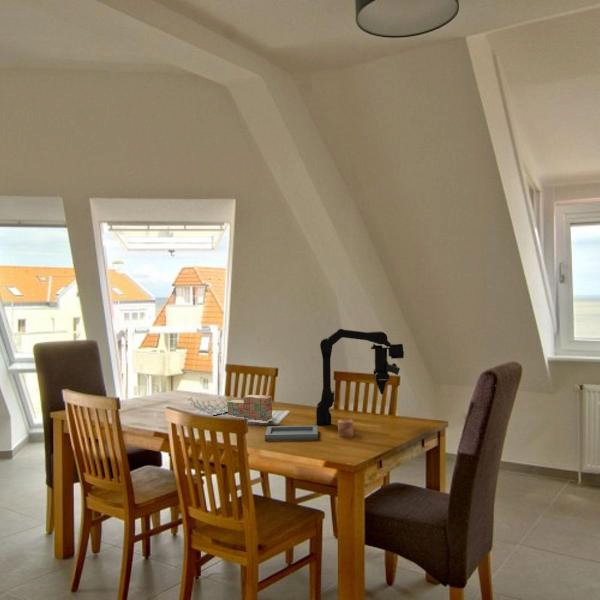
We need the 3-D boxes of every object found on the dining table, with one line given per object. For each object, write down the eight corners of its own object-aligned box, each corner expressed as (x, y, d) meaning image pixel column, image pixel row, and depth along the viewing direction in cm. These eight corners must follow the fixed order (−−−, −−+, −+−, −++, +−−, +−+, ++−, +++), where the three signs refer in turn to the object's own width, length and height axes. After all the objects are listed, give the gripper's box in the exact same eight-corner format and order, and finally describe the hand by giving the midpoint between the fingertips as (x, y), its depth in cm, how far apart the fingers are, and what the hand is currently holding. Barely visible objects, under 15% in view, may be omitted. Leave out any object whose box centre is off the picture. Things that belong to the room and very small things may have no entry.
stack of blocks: (227, 420, 289) (226, 395, 288) (234, 418, 294) (233, 393, 294) (266, 424, 280) (265, 398, 280) (272, 421, 285) (272, 395, 285)
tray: (264, 441, 247) (264, 435, 247) (267, 432, 263) (267, 426, 263) (317, 439, 247) (317, 433, 247) (317, 431, 263) (317, 425, 263)
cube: (339, 436, 251) (338, 422, 251) (338, 433, 257) (338, 419, 257) (353, 436, 251) (352, 422, 251) (352, 433, 257) (351, 419, 257)
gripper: (400, 360, 265) (401, 395, 265) (396, 356, 283) (397, 389, 284) (375, 361, 266) (375, 396, 266) (373, 356, 284) (373, 389, 284)
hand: (381, 392), depth 275 cm, fingers open, 9 cm apart
